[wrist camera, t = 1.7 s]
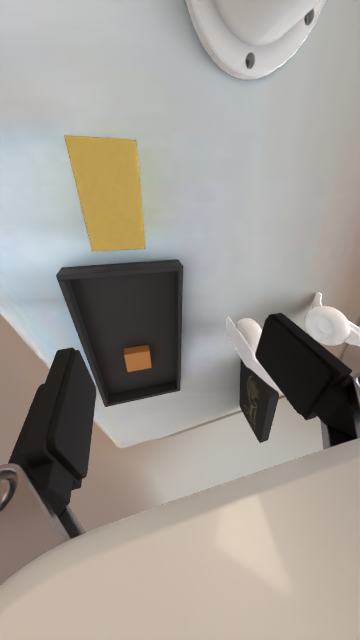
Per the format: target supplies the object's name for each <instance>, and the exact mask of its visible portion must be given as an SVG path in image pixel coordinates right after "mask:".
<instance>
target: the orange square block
mask: <svg viewBox="0 0 360 640" xmlns="http://www.w3.org/2000/svg"><path fill="white" fill-rule="evenodd" d="M124 357H125V362H126V367H127V371H128V372H132V371H137V370H142V369H148V368H151V358H150V350H149V345H143V346H137V347H131V348H125V349H124Z"/></svg>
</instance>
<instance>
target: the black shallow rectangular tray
mask: <svg viewBox="0 0 360 640" xmlns="http://www.w3.org/2000/svg"><path fill="white" fill-rule="evenodd" d="M56 277H57V280H58V282H59V285H60V288H61V290H62V293H63V296H64V298H65V301H66V304H67V306H68V309H69V312H70V315H71V317H72V320H73V323H74V325H75V328H76V331H77V333H78V336H79V339H80V341H81V344H82V347H83V349H84V352H85V355H86V357H87V360H88V363H89V365H90V368H91V371H92V373H93V376H94V379H95V381H96V384H97V387H98V389H99V392H100V395H101V397H102V400H103V403H104V406H105V407H107V406H112V405H116V404H121V403H126V402H130V401H135V400H139V399H144V398H148V397H153V396H158V395H162V394H167V393H171V392H176V391H180V378H181V334H182V291H183V265H182V264H181V263H180V262H179V260H165V261H151V262H136V263H121V264H107V265H92V266H77V267H63V268H61V269H60V271H59V272H58V274H57V275H56ZM143 345H149V350H150V358H151V368H148V369H142V370H137V371H132V372H128V371H127V367H126V362H125V357H124V349H125V348H131V347H137V346H143Z"/></svg>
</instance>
